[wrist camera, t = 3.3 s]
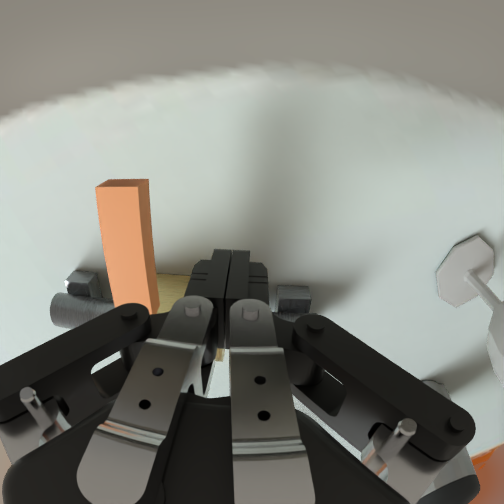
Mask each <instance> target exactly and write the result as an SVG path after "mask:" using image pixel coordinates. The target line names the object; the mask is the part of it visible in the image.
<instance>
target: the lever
mask: <svg viewBox="0 0 504 504" xmlns="http://www.w3.org/2000/svg"><path fill="white" fill-rule="evenodd" d="M95 190H96V199H97V208H98V216H99V223H100V230H101V237H102V243H103V250H104V255H105V261H106V267H107V272H108V277H109V282H110V287H111V292H112V296H113V301H114V305H115V308H116V307H118V306H120V305H122V304H126V303H139V304H142V305H144V306H146V307H147V308H148V310H149V313H150V314H157V311H158V309H159V307H160V300H159V293H158V285H157V277H156V268H155V259H154V249H153V238H152V226H151V213H150V197H149V179H110V180H107V181H105V182H104V183H102V184H100V185H98V186H97V187H95Z"/></svg>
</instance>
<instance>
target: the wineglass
mask: <svg viewBox="0 0 504 504" xmlns="http://www.w3.org/2000/svg"><path fill="white" fill-rule="evenodd" d="M493 274H494V252H493V249H492V248H491V247H490V246H489V245H488V244H487V243H486V242H485V241H483V240H482V239H481V238H480V237H479V236H478V235H476V236H474V237H472V238H470V239H468V240H466V241H464V242H462V243H460V244H458V245H456V246H454V247H453V248H452V250H451V251H450V252H449V254H448V255H447V257H446V258H445V260H444V261H443V262H442V264H441V265H440V267H439V268H438V269H437V271H436V279H437V287H438V295H439V298H441V299H443V300H444V301H446V302H448V303H449V304H451V305H453V306H454V307H456V308H457V307H458V306H460V305H462V304H464V303H466V302H468V301H470V300H471V299H473V298H475V297H477V296H478V295H479V296H480V297H481V298H482V299H483V300H484V301H485V302H486V304H487V305H488V306H489V307H490V308H491V309H492V311H493V315H492V318H491V321H490V325H489V328H488V337H487V346H486V347H487V350H488V353H489V357H490V360H491V363H492V367H493V370H494V373H495V374H496V376H497V377H498V379H499V381H500V382H501V384H502V386H503V387H504V301H502V302H501V300H500V299H499V298H498V297H497V296H496V295H495V294H494V293H493V292H492V290H491V289H490V288H489V287H488V286H487V285H486V284H487V283H488V281H489V280H490V279H491V277H492V276H493Z"/></svg>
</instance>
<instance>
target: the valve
mask: <svg viewBox="0 0 504 504" xmlns="http://www.w3.org/2000/svg"><path fill="white" fill-rule="evenodd" d="M156 277H157V285H158V293H159V300H160V307H159V309H158V311H157V314H158V313H165V312H169V311H170V310H171V308H172V306H173V304H174V303H175V302H176V301H177V300H178V299H180V298H183V297H184V294H185V291H186V288H187V285H188V282H189V280H190V277H191V276H185V275H171V274H157V273H156ZM65 283H66V287H67V291H68V294H67V293H57V294H56V295H55V296H54V297H53V299H52V302H51V306H50V316H51V320H52V322H53V323H54V325H56V326H59V327H64V328H69V329H73V328H75V327H77V326H79V325H81V324H83V323H85V322H87V321H89V320H92V319H94V318H96V317H98V316H100V315H102V314H104V313H106V312H108V311H110V310H112V309H114V308H115V305H114V301H113V299H105V298H102V295H101V291H100V286H99V282H98V277H97V273H94V272H84V271H73V272H72V274H71V275H70V276H69V277H68V278H67V279H66V280H65ZM310 304H311V296H310V292H309V287H308V286H284V285H278V289H277V298H276V306H275V312H272V313H273V314H274V315H276V316H277V317H279V318H281V319H283V320H286V321H290V322H294V323H295V321H296V319H298V318H299V317H301V316H303V315H307V314H316V313H309V309H310ZM225 349H226V335H225V343H224V349H219V348H217V354H216V357H215V361H221V362H223V359H224V352H225Z"/></svg>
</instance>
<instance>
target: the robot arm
mask: <svg viewBox="0 0 504 504" xmlns="http://www.w3.org/2000/svg"><path fill="white" fill-rule="evenodd" d="M249 259H250V251H245V250H233V252H232V250H224V249H214V252H213V256H212V259H211V260H200V261H199V262H198V263H197V264H196V265H194V268H193V271H192V274H191V277H190V280H189V282H188V285H187V288H186V291H185V294H184V297H183V298H180V299H178V300H177V301H176V302H175V303H174V304H173V306H172V308H171V310H170V311H169V312H165V313H158V314H150V313H149V310H148V308H147V307H146V306H144V305H142V304H139V303H126V304H122V305H120V306H118V307H116V308H114V309H112V310H110V311H108V312H106V313H104V314H102V315H100V316H98V317H96V318H94V319H92V320H89V321H87V322H85V323H83V324H81V325H79V326H77V327H75V328H73V329H71V330H69V331H67V332H65V333H63V334H61V335H59V336H57V337H56V338H54V339H52V340H50V341H48V342H46V343H44V344H42V345H40V346H38V347H36V348H34V349H32V350H30V351H28V352H26V353H24V354H22V355H20V356H18V357H16V358H14V359H12V360H10V361H8V362H6V363H4V364H2V365H0V439H1V441H2V443H3V446H4V448H5V450H6V453H7V455H8V457H9V459H10V462H11V464H12V465H11V467H10V468H9V469H8V471H7V473H6V475H5V478H4V481H3V486H2V495H3V502H4V504H468V503H469V502H470V501H471V500H473V499H474V498H475V497H476V495H477V494H478V493H479V491H480V484H479V481H478V478H477V475H476V472H475V470H474V467H473V464H472V461H471V459H470V456H469V454H468V451H467V449H466V445H467V444H468V443H469V442H470V441H471V440H472V439H473V437H474V435H475V430H476V427H475V422H474V420H473V418H472V416H471V415H470V414H469V413H468V412H467V411H466V410H464V409H463V408H461V407H460V406H458V405H457V404H455V403H454V402H452V400H451V398H450V396H449V394H448V392H447V390H446V388H445V386H444V384H438V383H436V382H434V381H423V382H422V381H420V380H419V379H417V378H416V377H414V376H413V375H411V374H410V373H408V372H407V371H405V370H404V369H402V368H401V367H399V366H398V365H396V364H395V363H393V362H392V361H390V360H389V359H387V358H386V357H384V356H383V355H381V354H380V353H378V352H377V351H375V350H374V349H372V348H371V347H369V346H368V345H367V344H365V343H364V342H362V341H361V340H359V339H358V338H356V337H355V336H353V335H352V334H350V333H349V332H347V331H346V330H344V329H343V328H341V327H340V326H338V325H337V324H336V323H334V322H333V321H331V320H330V319H328V318H326V317H324V316H321V315H317V314H307V315H303V316H301V317H299V318H298V319H296V321H295V323H294V322H290V321H286V320H283V319H281V318H279V317H277V316H276V315H274V314H273V313H272V311H271V308H270V307H269V293H268V275H267V268H266V267H265V266H264V265H263V264H262V263H256V262H249ZM225 335H226V349H229V378H230V396H227V397H219V398H207V395H208V391H209V387H210V383H211V379H212V375H213V371H214V367H215V357H216V354H217V348H219V349H224V343H225ZM118 351H120V355H121V358H119V359H117V360H116V361H114V362H112V363H110V364H109V365H107V366H105V367H103V368H102V369H100V370H98V371H96V372H95V373H93V374H91V370H92V368H93V366H94V365H95V364H97V363H98V362H100V361H102V360H104V359H105V358H107V357H109V356H111V355H113V354H114V353H116V352H118ZM325 370H326V371H327V372H328V373H330V374H331V375H332V376H333V377H335V378H336V379H337V380H339V381H340V382H341V383H342V384H343V385H342V384H341V383H340V382H339V381H337V380H336V379H335V378H333V377H332V376H331V375H330V374H328V373H327V372H326V371H325ZM292 394H293V395H294V396H295V397H296V398H297V399H298V400H299V401H300V402H302V403H303V404H304V405H305V406H306V407H307V408H308V409H310V410H311V411H312V412H313V413H314V414H315V415H317V416H318V417H319V418H320V419H321V420H322V421H324V422H325V423H326V424H327V425H328V426H329V427H331V428H332V429H333V430H334V431H335V432H337V433H338V434H339V435H340V436H341V437H343V438H344V439H345V440H346V441H348V442H349V443H350V444H351V445H352V446H354V447H355V448H356V449H357V450H359V451H360V452H361V461H359V460H358V459H357V458H356V457H355V456H354V455H352V454H351V453H350V452H349V451H348V450H347V449H346V448H344V447H343V446H342V445H341V444H340V443H339V442H338V441H337V440H335V439H334V438H333V437H332V436H331V435H330V434H329V433H328V432H327V431H326V430H324V429H323V428H322V427H321V426H320V425H319V424H318V423H317V422H316V421H315V420H313V419H312V418H311V417H309V416H308V415H306V414H304V413H303V412H301V411H299V410H296V409H295V407H294V402H293V396H292Z"/></svg>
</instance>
